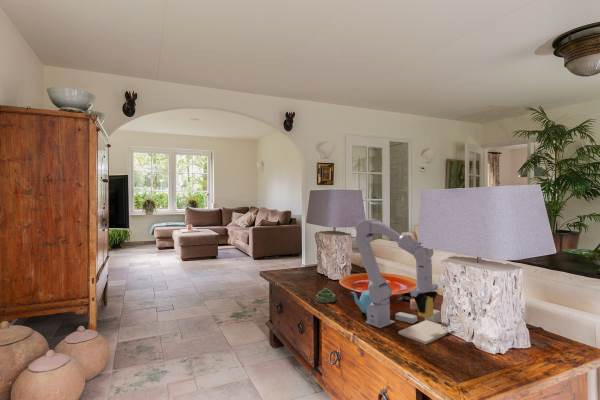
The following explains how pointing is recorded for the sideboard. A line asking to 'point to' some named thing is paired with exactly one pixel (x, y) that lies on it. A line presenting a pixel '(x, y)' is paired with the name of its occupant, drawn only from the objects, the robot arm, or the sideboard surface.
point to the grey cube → (435, 317)
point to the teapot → (363, 300)
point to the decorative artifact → (325, 296)
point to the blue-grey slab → (406, 317)
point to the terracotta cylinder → (413, 305)
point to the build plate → (405, 297)
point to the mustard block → (427, 308)
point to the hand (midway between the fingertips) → (425, 311)
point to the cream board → (424, 332)
